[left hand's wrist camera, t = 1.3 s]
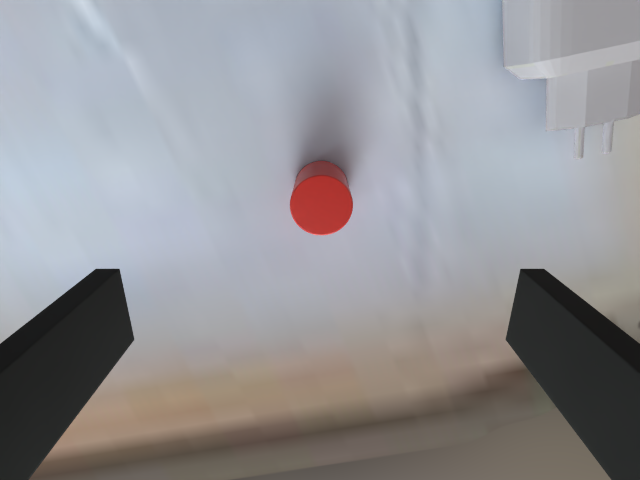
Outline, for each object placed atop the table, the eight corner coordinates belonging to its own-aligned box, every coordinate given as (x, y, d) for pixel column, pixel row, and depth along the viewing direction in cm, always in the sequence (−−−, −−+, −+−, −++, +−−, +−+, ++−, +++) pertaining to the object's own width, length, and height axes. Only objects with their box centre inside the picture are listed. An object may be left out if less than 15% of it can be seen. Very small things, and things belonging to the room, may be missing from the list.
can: (298, 214, 28) (293, 238, 24) (291, 163, 27) (286, 178, 22) (349, 209, 28) (354, 232, 23) (345, 158, 27) (350, 172, 22)
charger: (500, 163, 27) (493, -101, 21) (638, 136, 26) (666, -144, 20) (536, 178, 22) (539, -152, 17) (703, 146, 21) (761, -209, 16)
